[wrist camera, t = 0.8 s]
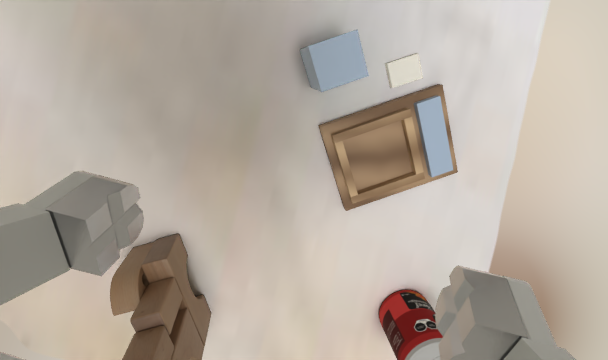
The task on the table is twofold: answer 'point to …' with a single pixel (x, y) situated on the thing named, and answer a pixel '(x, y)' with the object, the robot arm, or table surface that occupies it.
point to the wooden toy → (160, 303)
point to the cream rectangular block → (404, 70)
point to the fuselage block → (334, 61)
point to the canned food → (410, 326)
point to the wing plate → (433, 135)
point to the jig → (381, 149)
